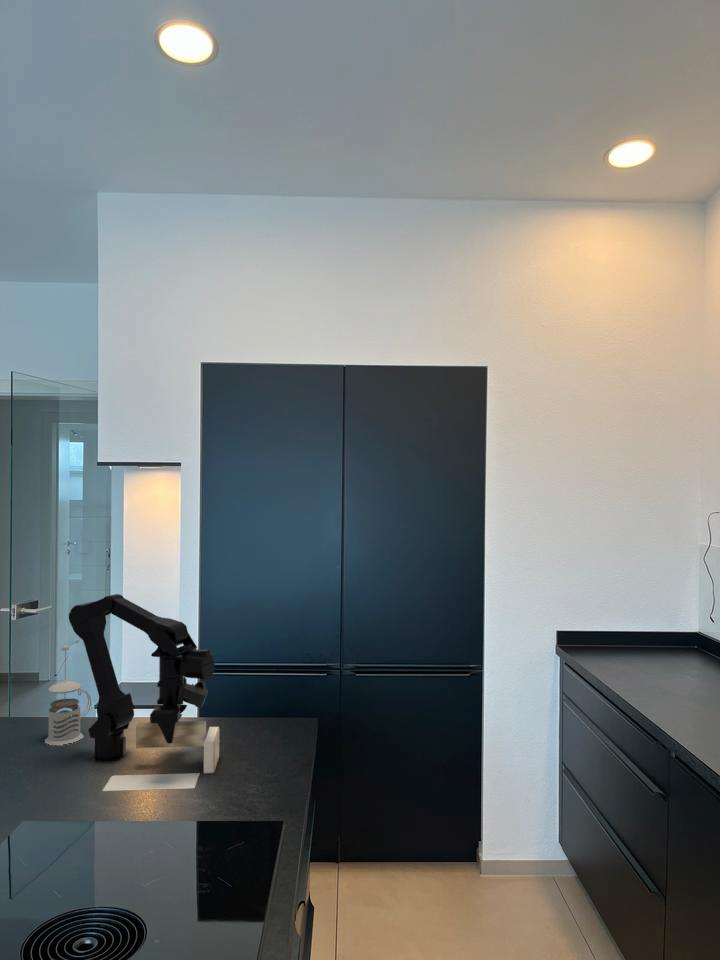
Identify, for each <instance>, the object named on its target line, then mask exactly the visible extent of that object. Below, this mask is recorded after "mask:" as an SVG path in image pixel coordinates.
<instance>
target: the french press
mask: <svg viewBox="0 0 720 960" xmlns="http://www.w3.org/2000/svg"><path fill="white" fill-rule="evenodd" d="M69 650H70V647H69V645H66V644H64V645H63V646H61V651H64V680H61V681H59V682H56V683H54V684H52V685H50V687H48V692H49V693H51V694H69V693H74V692H76V691H77V694H78V696H81V695H82V692H83V693H85V694H86V696H87V697H86V698H87V704H86V705H87V706H86V708H85V710H84V711H83V712H82V713H81V707H80V705H79V703H80V700H79V699H77V698H72V697H69V698H66V695H64V698H59V699H55V700H53V701H51V702H50V704H49V705H50V708H49V709H48V735H47V737H46V738H45V739H44V740H43V741H45V742H44V744H46V743H47V744H46V745H48V744H49V745H48V746H54V745H57V746H64V745H63V744H67V745H69V744H68V743H72V744H74V743H73V742H75V743H77V742H76V741H78V740H80V739H82V738H83V739H84V734H83V733H82V732H81V726H82V725H81V724H82V723H81V720H82V718H83V717H85V716H86V715H87V714H88V713H89V711H90V709H91V705H92V698H91V695H90V693H88V691H86V690H84V689H82V685H81V684H80V683H78V682H77V681H73V680H66V677H67V676H66V675H67V674H66V672H67V671H66V670H67V669H66V668H67V667H66V666H67V664H66V663H67V661H66V660H67V651H69ZM63 709H64V710H63ZM65 709H66V710H65ZM67 709H70V710H67ZM59 710H60V711H59ZM58 711H59V712H58ZM67 718H68V719H67ZM55 727H56V728H55ZM83 739H82V740H83ZM80 741H81V740H80ZM78 742H79V741H78Z"/></svg>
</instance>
